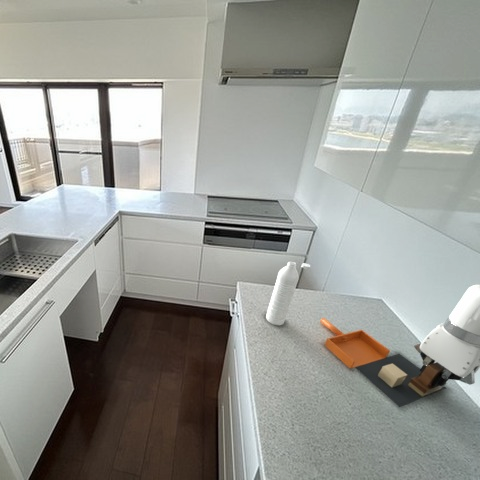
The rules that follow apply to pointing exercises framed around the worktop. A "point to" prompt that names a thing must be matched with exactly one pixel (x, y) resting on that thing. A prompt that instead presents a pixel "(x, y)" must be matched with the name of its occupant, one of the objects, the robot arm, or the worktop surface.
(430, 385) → the brush
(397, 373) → the clay clod
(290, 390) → the worktop surface
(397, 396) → the mat
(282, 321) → the water bottle
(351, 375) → the worktop surface
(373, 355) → the dustpan
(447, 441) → the worktop surface
